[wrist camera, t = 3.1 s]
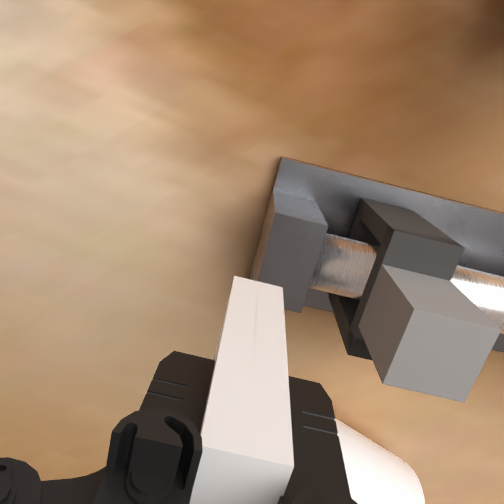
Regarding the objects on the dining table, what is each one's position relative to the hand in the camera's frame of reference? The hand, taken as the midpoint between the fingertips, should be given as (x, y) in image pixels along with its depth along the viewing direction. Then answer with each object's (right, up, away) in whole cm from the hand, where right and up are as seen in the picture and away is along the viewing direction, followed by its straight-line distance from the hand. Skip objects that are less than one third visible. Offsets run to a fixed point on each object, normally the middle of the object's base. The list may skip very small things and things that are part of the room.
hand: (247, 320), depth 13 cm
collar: (+7, +2, +12) cm, 14 cm away
